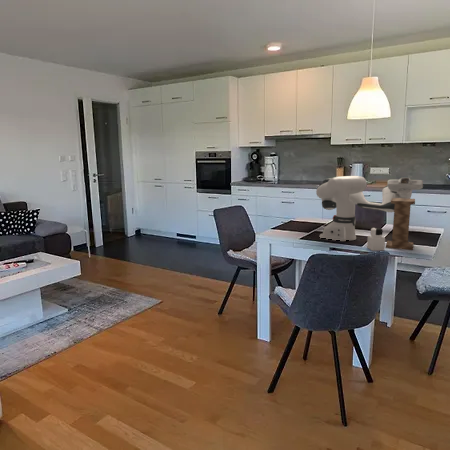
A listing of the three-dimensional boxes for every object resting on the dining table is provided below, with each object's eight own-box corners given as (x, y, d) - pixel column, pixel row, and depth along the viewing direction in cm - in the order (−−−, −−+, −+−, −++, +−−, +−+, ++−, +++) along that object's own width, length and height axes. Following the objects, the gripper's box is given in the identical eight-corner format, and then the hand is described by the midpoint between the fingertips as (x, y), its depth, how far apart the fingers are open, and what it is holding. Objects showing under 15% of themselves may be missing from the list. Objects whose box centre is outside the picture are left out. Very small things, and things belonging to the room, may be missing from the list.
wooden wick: (400, 183, 227) (401, 178, 226) (401, 180, 241) (401, 176, 241) (408, 183, 225) (408, 178, 225) (408, 180, 240) (409, 176, 239)
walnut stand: (385, 247, 219) (388, 200, 213) (387, 242, 229) (390, 197, 224) (413, 250, 213) (417, 201, 207) (413, 245, 223) (416, 198, 218)
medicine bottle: (379, 247, 220) (380, 226, 218) (384, 250, 213) (386, 229, 211) (366, 247, 220) (368, 227, 217) (371, 250, 213) (373, 229, 210)
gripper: (422, 193, 243) (423, 184, 231) (387, 192, 252) (387, 183, 240) (423, 184, 245) (424, 174, 233) (388, 183, 254) (387, 174, 242)
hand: (405, 179), depth 237 cm, fingers closed on wooden wick, 2 cm apart
